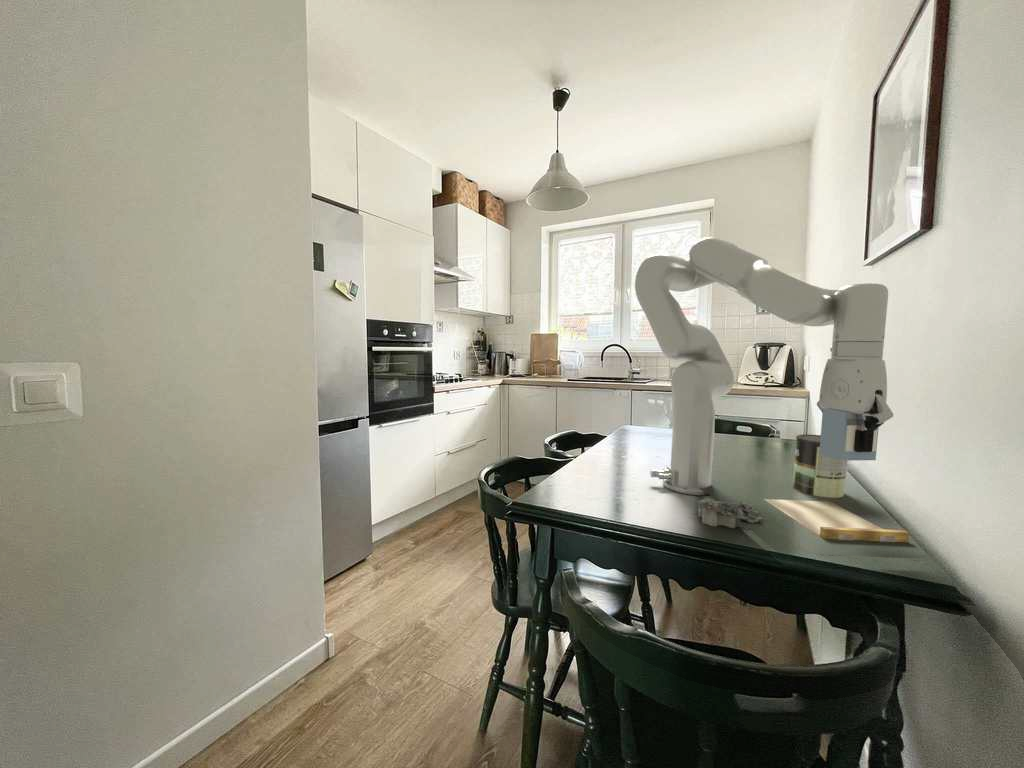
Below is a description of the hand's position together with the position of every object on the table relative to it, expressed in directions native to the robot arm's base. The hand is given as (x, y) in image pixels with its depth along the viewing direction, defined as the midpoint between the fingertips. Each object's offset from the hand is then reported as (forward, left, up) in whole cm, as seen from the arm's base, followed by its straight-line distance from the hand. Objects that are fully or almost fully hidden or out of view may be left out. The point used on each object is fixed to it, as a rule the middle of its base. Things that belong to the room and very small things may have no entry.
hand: (848, 446), depth 82 cm
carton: (0, 0, -2) cm, 2 cm away
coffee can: (+9, +21, -17) cm, 28 cm away
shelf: (-1, +3, -17) cm, 17 cm away
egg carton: (-20, +3, -17) cm, 27 cm away
